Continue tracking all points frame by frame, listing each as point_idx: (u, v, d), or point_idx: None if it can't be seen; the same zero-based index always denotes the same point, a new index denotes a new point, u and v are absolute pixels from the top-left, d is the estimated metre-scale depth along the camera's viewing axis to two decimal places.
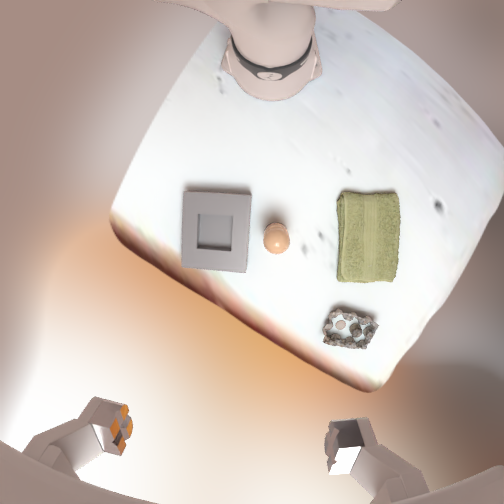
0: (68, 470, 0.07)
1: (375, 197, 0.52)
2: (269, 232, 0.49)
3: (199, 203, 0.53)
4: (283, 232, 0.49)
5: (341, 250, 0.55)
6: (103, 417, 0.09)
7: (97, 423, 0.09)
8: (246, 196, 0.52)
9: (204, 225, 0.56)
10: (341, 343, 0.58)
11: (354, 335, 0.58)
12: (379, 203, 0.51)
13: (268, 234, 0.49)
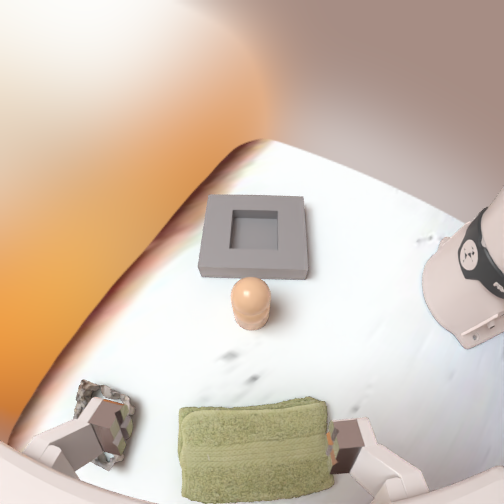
0: (68, 470, 0.07)
1: None
2: (264, 282, 0.33)
3: (290, 212, 0.43)
4: (266, 302, 0.32)
5: (232, 409, 0.31)
6: (103, 417, 0.09)
7: (97, 423, 0.09)
8: (306, 264, 0.38)
9: (260, 223, 0.44)
10: (79, 410, 0.29)
11: None
12: (317, 458, 0.27)
13: (262, 280, 0.33)
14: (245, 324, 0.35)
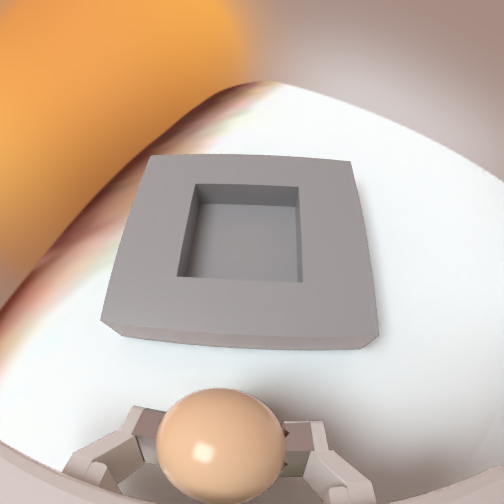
0: (113, 486, 0.07)
1: None
2: (268, 415, 0.08)
3: (328, 191, 0.18)
4: (271, 481, 0.07)
5: None
6: (147, 427, 0.09)
7: (141, 434, 0.09)
8: (373, 322, 0.14)
9: (257, 216, 0.20)
10: None
11: None
12: None
13: (258, 410, 0.08)
14: None
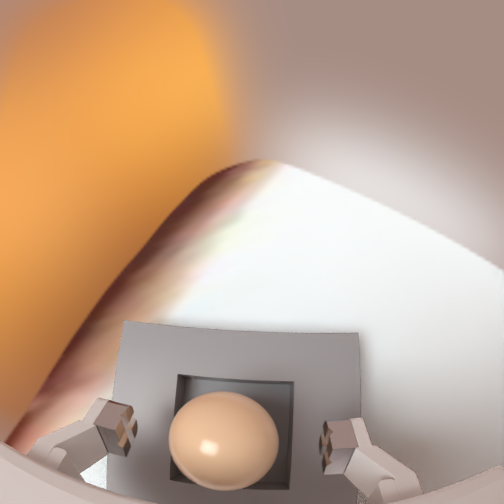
0: (73, 472, 0.07)
1: None
2: (263, 414, 0.10)
3: (327, 384, 0.15)
4: (265, 469, 0.09)
5: None
6: (108, 418, 0.09)
7: (102, 424, 0.09)
8: None
9: None
10: None
11: None
12: None
13: (255, 410, 0.10)
14: None
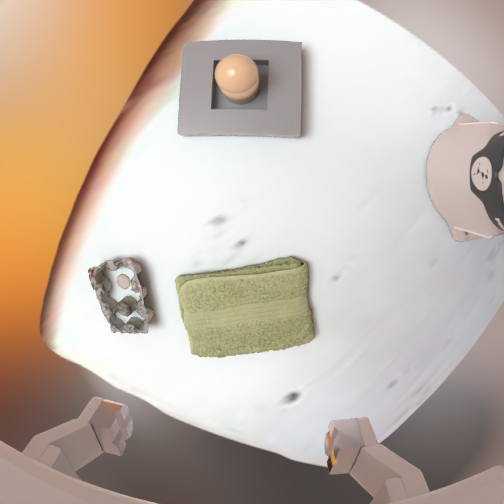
0: (68, 470, 0.07)
1: (306, 311, 0.38)
2: (251, 59, 0.25)
3: (284, 62, 0.30)
4: (252, 79, 0.26)
5: (221, 275, 0.38)
6: (103, 417, 0.09)
7: (97, 423, 0.09)
8: (298, 129, 0.32)
9: None
10: (100, 295, 0.38)
11: (118, 307, 0.39)
12: (298, 318, 0.38)
13: (247, 57, 0.25)
14: (233, 100, 0.31)
